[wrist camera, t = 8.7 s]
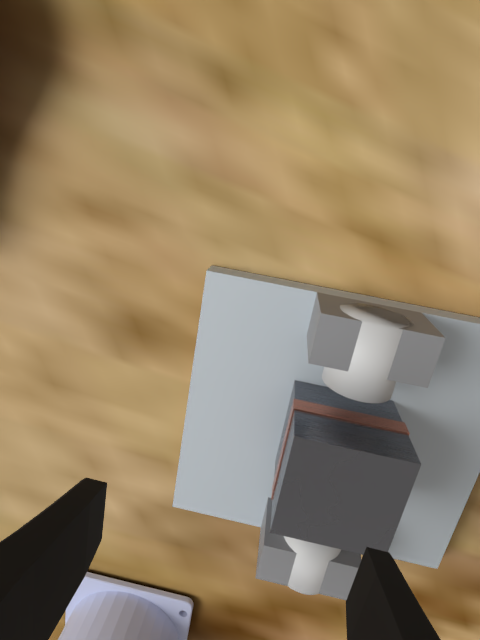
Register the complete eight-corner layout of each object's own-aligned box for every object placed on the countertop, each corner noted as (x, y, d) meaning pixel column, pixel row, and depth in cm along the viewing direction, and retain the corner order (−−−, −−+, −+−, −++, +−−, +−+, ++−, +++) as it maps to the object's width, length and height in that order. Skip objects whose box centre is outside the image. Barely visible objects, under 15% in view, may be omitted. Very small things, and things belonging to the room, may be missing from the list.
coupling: (367, 482, 20) (386, 561, 16) (274, 461, 21) (268, 533, 16) (394, 400, 19) (423, 463, 15) (293, 378, 19) (292, 434, 15)
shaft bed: (430, 549, 23) (460, 632, 18) (178, 490, 23) (153, 557, 19) (524, 326, 18) (591, 368, 14) (212, 265, 19) (188, 288, 15)
